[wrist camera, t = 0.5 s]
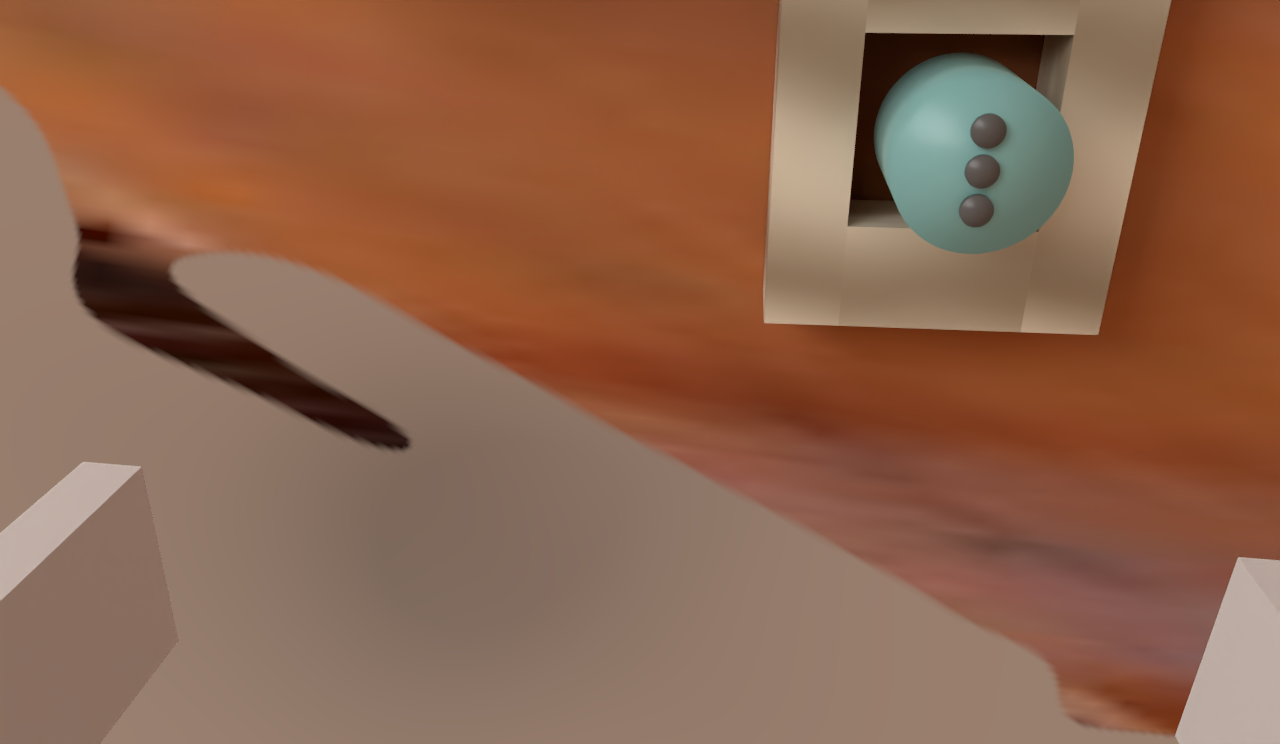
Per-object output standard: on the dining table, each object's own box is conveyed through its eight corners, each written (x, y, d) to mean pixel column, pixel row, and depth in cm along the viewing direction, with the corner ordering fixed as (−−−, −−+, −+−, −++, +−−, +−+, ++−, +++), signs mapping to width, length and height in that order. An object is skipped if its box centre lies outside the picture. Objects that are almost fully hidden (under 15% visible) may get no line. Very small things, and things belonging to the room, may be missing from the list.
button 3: (882, 51, 31) (902, 80, 26) (1044, 53, 30) (1092, 83, 26) (866, 204, 33) (883, 254, 29) (1018, 208, 32) (1058, 259, 28)
